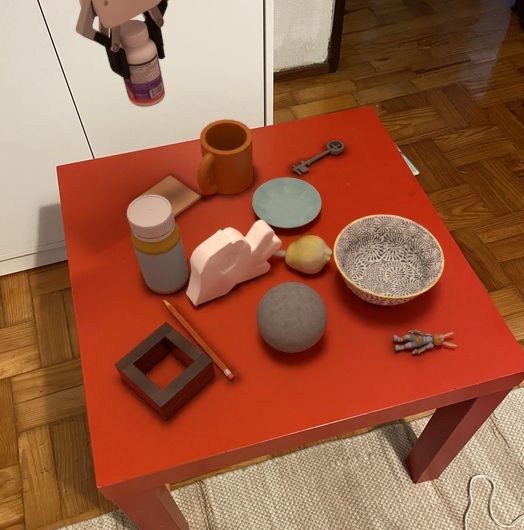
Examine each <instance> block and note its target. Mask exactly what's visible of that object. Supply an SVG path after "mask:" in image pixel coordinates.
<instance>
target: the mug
mask: <svg viewBox="0 0 524 530" xmlns="http://www.w3.org/2000/svg"><path fill="white" fill-rule="evenodd" d="M199 143H200V151H201V161H200V163H199V165H198V168H197V173H196V175H197V176H196V180H197V185H198V188H199V190H200V191H201V192H202V193H203V194H204V195H206V196H207V195H208V196H211V195H216V194H220V195H225V196H226V195H227V196H228V195H229V196H230V195H236V194H240V193H242V192H245V191H246V190H247V189H248V188H249V187H251V185H252V183H253V181H254V153H253V152H254V151H253V150H254V149H253V133H252V131H251V129H250V127H249V126H247V125H246V124H245V123H243V122H241V121H239V120H235V119H218V120H215V121H213V122H210V123H208V124H207V125H206V126H205V127H204V128H202V130H201V132H200V135H199Z"/></svg>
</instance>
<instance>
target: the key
mask: <svg viewBox="0 0 524 530" xmlns="http://www.w3.org/2000/svg"><path fill="white" fill-rule="evenodd" d="M344 149H345V144H344V142H342V141H340V140H336V139H334V140H332V141H330V142H328V143H327V144H326V150H325V151H323V152H321V153H320V154H317V155H316V156H313V157H311V158H310V159H308V160H305V161H304V160H303V159H302V160H300V161H299V165H297V166H295V165H294V164H293V165H292V166H291V167H292V172H293V173H297V175H299V176H301V175H302V174H305V173H306V172H308V171H309V170H310V169H309V168H308V167H307V166H310V165H311V164H312V163H314V162H315V161H317V160H319V159H320V158H323V157H325V156H326V155H328V154H330V155H335V156H338V155H339V154H342V153H343V152H344V151H345V150H344Z"/></svg>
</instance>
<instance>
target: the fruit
mask: <svg viewBox="0 0 524 530" xmlns="http://www.w3.org/2000/svg"><path fill="white" fill-rule="evenodd" d="M333 255H334V251H333V250H332V249H331V248H330V247H329V246H328V245H327V243H326V241H325V240H324V239H323V238H322V237H320V236H318V235H313V234H307V235H303V236H301V237H300V238H298V239H297V240H295V241H292V242H290V243H289V245H288V246H287V248H286V250H277V251H276V252H275V253H274V254H273V255H272V256H271V257H284V262H285V264H286V265H287V266H288V267H290V268H292V269H294V270H297V271H299V272H301V273H304V274H312V275H313V274H317V273H319V272H320V271H322V269H323V268H324V266H325V265H326V264H328V263H330V261H331V260H332V257H333Z"/></svg>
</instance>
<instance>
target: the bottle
mask: <svg viewBox="0 0 524 530" xmlns="http://www.w3.org/2000/svg"><path fill="white" fill-rule="evenodd" d="M140 196H141V195H140ZM138 197H139V196H138ZM138 197H136V198H135V199H134V200H132V201H131V203H130V204H129V205H128V207H127V210H126V218H127V222H128V224H129V227H130V230H131V233H130V234H131V235H130V238H131V239H130V240H131V242H132V246H133V249H134V252H135V255H136V258H137V261H138V264H139V267H140V270H141V273H142V277H143V279H144V282H145V284H146V286H147V287H148V288H149V290H151V291H152V292H154V293H156V294H161V295H163V294H164V295H169V294H172V293H173V294H174V293H176V292H177V291H180V290H181V289H183V287H184V286H186V284H187V283H188V280H189V277H190V275H189V274H190V273H189V267H188V262H187V257H186V253H185V248H184V243H183V239H182V233H181V230H180V227H179V225H178V223H177V222H176V221H175V218H174V215H173V211H172V207H171V204H170V203H169V201H168V200H167V199H166V198H164V197H162V196H159V195H144V196H141V197H139V198H138Z"/></svg>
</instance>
